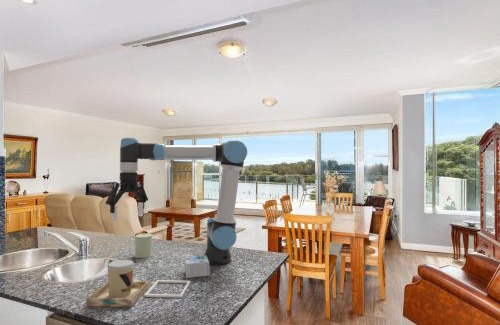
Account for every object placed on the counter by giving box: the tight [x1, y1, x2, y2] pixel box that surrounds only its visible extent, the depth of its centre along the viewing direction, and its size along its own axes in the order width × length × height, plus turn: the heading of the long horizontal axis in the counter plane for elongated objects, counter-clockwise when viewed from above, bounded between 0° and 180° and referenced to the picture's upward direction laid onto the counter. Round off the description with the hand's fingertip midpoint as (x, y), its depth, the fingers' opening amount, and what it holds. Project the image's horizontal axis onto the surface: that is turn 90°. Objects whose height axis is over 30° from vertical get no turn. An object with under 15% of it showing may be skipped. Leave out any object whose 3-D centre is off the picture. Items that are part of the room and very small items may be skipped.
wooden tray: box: [85, 280, 150, 308], centre depth 110 cm, size 16×17×3 cm
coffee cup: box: [107, 259, 135, 298], centre depth 111 cm, size 9×9×12 cm
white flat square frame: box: [143, 279, 191, 299], centre depth 117 cm, size 15×15×1 cm
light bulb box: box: [184, 255, 211, 279], centre depth 135 cm, size 11×7×11 cm
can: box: [134, 233, 153, 259], centre depth 162 cm, size 9×9×12 cm
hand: (127, 218), depth 130 cm, fingers open, 13 cm apart
